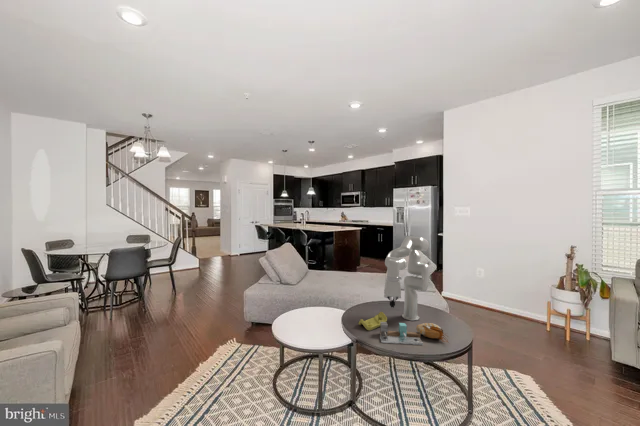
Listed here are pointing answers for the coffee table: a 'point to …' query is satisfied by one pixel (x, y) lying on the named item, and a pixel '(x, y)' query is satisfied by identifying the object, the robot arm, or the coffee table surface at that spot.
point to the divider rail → (386, 333)
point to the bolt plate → (401, 340)
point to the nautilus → (431, 331)
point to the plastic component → (373, 321)
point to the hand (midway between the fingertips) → (392, 306)
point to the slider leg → (403, 330)
